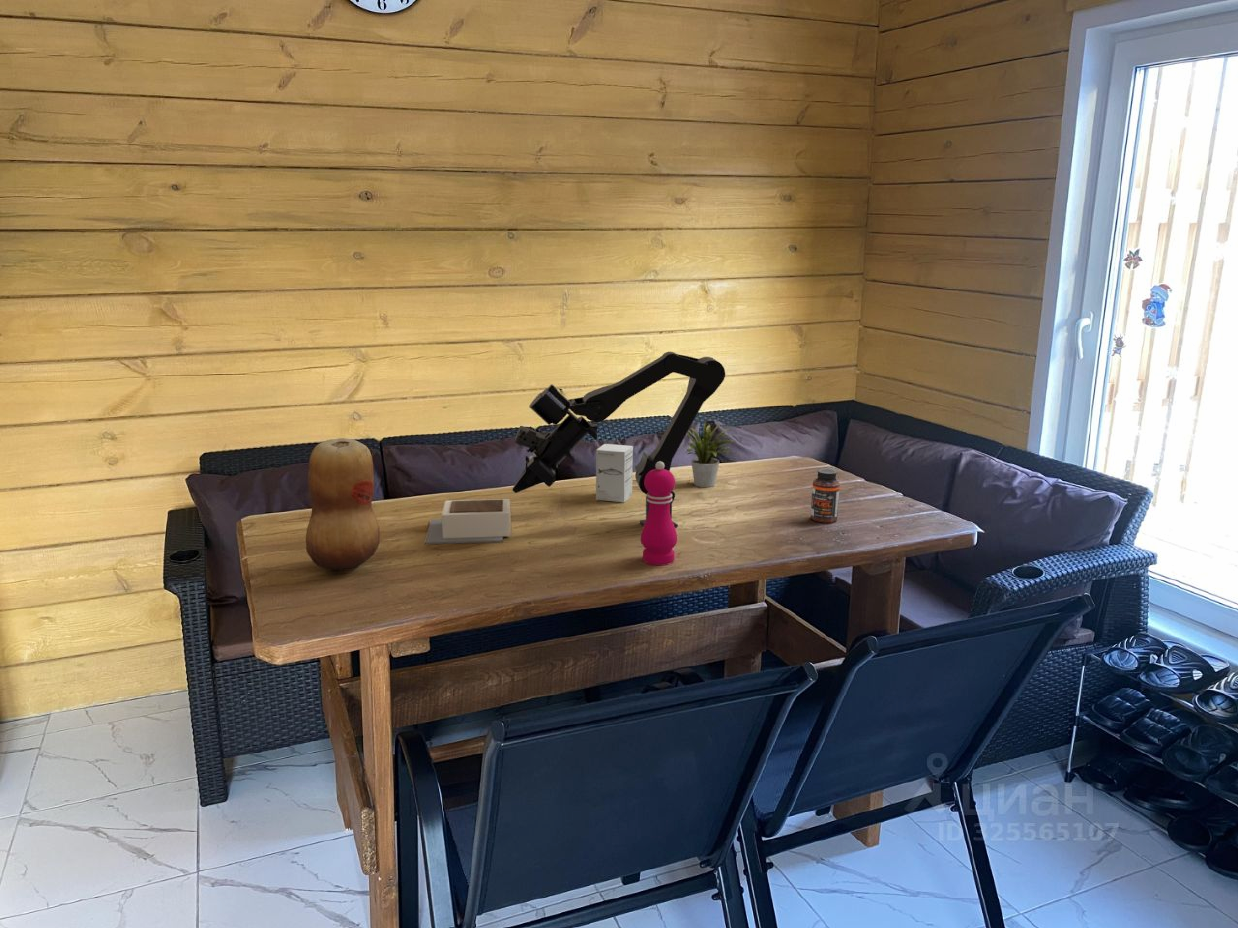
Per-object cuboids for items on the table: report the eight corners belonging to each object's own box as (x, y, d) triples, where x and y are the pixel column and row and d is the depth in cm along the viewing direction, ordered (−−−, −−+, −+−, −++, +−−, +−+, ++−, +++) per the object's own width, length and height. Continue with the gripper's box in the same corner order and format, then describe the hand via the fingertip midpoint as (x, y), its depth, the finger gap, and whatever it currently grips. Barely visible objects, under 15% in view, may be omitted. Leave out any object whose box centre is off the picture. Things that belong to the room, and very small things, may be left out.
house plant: (701, 496, 233) (703, 431, 229) (663, 484, 243) (664, 422, 239) (742, 486, 242) (744, 423, 238) (703, 476, 252) (705, 415, 248)
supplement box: (595, 500, 229) (594, 449, 226) (604, 492, 236) (604, 442, 233) (624, 503, 227) (624, 451, 224) (633, 495, 234) (633, 444, 231)
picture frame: (509, 497, 211) (445, 499, 209) (509, 511, 200) (441, 513, 199) (510, 520, 212) (446, 522, 211) (510, 536, 202) (442, 538, 200)
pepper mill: (632, 559, 189) (633, 461, 184) (657, 551, 194) (659, 455, 189) (659, 568, 184) (660, 467, 179) (684, 560, 189) (686, 461, 184)
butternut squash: (345, 585, 175) (336, 452, 169) (293, 573, 181) (282, 444, 175) (397, 563, 186) (390, 437, 180) (346, 551, 193) (338, 430, 187)
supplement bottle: (809, 522, 213) (812, 473, 210) (811, 514, 219) (813, 466, 216) (837, 524, 212) (840, 474, 209) (837, 516, 217) (840, 468, 214)
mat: (503, 519, 215) (503, 517, 214) (502, 541, 199) (502, 540, 199) (431, 521, 213) (430, 519, 213) (424, 544, 197) (424, 542, 197)
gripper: (535, 405, 211) (486, 456, 212) (537, 422, 193) (484, 477, 194) (571, 439, 213) (523, 489, 215) (577, 459, 195) (525, 513, 197)
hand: (513, 491), depth 205 cm, fingers closed
